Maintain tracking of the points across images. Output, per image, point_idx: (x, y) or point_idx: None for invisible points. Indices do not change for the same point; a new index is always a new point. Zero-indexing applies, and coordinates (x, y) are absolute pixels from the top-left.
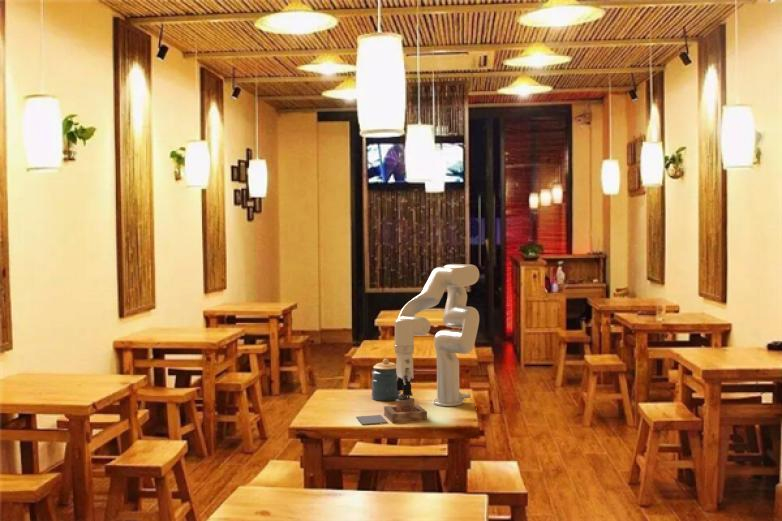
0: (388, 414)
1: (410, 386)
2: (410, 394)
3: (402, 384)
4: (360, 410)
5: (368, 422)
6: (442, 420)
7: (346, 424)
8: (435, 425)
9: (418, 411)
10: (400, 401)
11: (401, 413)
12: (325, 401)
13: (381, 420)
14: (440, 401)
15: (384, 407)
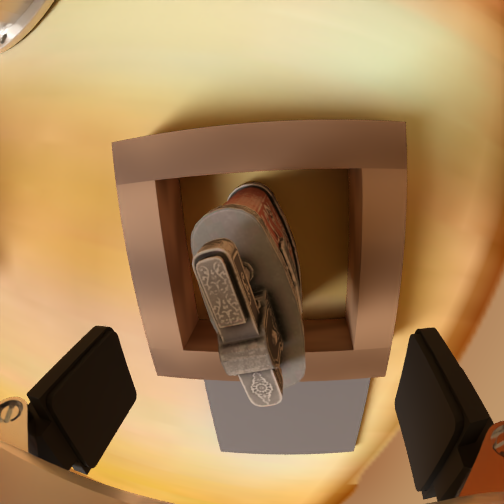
0: None
1: (474, 406)
2: (432, 333)
3: (89, 395)
4: None
5: (343, 435)
6: (397, 34)
7: (314, 476)
8: (495, 123)
9: (379, 188)
10: (304, 358)
11: (394, 325)
12: None
13: (329, 391)
14: (19, 12)
15: (166, 372)
